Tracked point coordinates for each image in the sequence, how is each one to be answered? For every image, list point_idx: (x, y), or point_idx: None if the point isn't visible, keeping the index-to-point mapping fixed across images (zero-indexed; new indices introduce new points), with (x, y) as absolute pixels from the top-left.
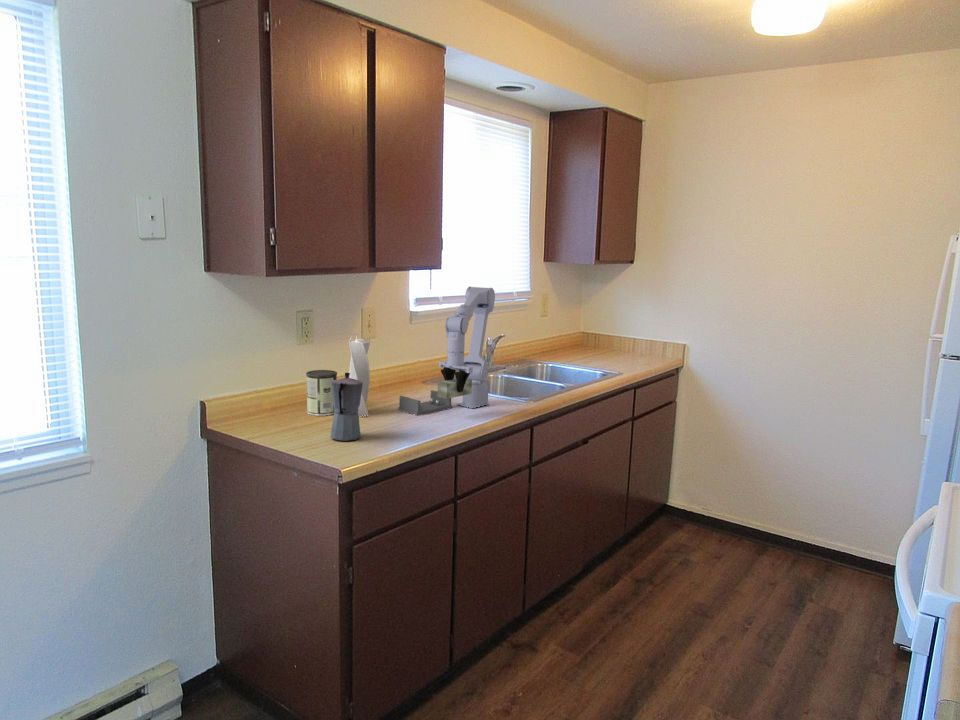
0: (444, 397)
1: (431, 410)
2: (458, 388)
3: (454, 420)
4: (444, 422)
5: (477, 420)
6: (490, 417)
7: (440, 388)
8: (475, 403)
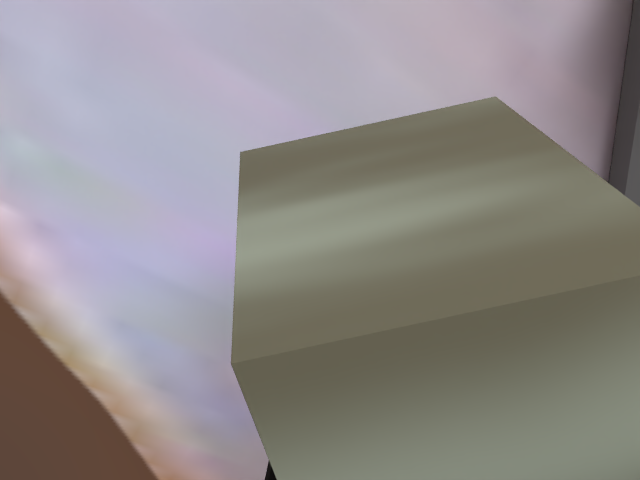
0: (301, 144)
1: (631, 111)
2: (265, 477)
3: (242, 150)
4: (212, 7)
5: (158, 317)
6: (204, 421)
7: (478, 193)
8: None
